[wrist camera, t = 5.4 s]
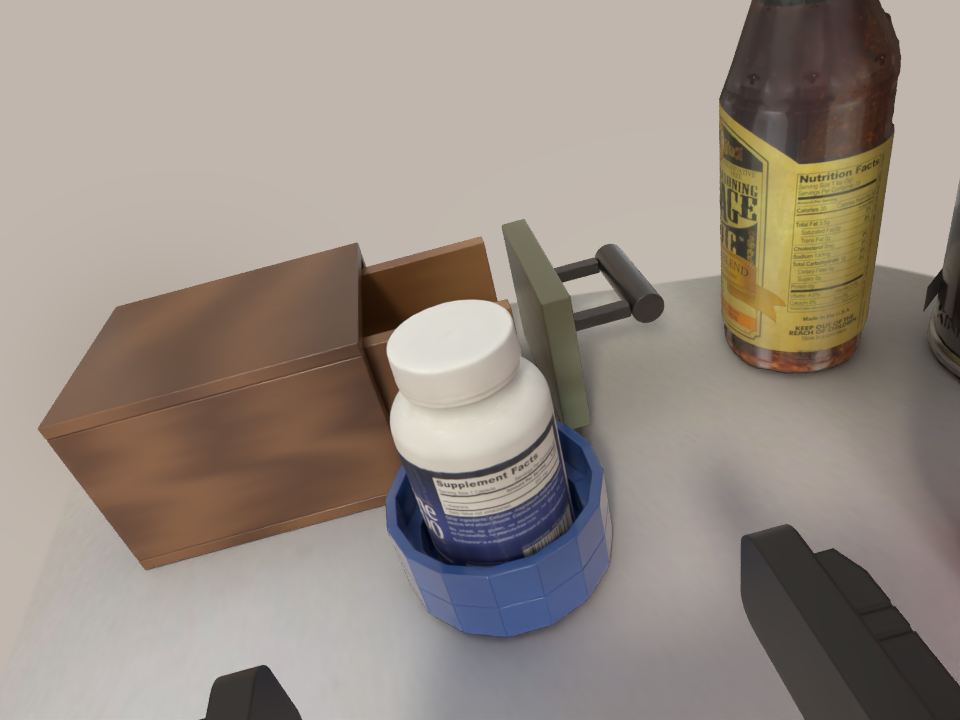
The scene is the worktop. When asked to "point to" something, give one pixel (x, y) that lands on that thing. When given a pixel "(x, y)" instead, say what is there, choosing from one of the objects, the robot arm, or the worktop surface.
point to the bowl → (520, 583)
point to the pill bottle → (477, 435)
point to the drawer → (505, 305)
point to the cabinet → (229, 411)
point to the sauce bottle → (804, 178)
